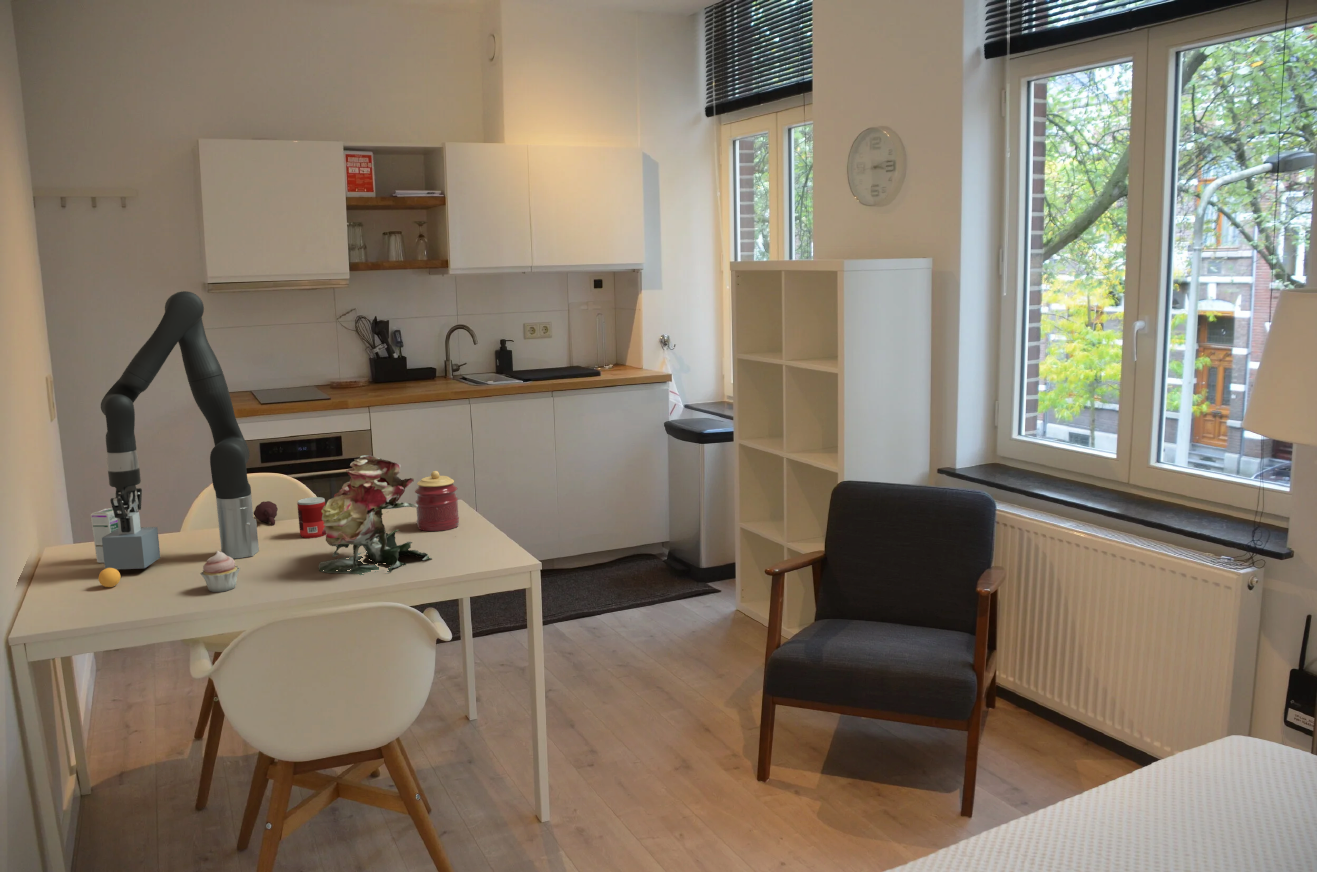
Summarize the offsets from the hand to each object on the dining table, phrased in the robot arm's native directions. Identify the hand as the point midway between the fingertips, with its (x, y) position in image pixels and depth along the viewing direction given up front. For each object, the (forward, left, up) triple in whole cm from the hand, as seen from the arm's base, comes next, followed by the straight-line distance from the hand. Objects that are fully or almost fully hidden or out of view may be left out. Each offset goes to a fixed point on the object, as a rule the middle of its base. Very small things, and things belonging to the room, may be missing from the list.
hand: (130, 529), depth 273 cm
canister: (-77, -34, -12) cm, 85 cm away
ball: (0, +15, -9) cm, 17 cm away
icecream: (-20, -51, -12) cm, 56 cm away
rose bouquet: (-64, +4, -12) cm, 65 cm away
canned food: (-40, -30, -12) cm, 52 cm away
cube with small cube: (0, 0, -10) cm, 10 cm away
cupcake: (-30, +21, -12) cm, 38 cm away
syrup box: (+11, -11, -12) cm, 19 cm away
